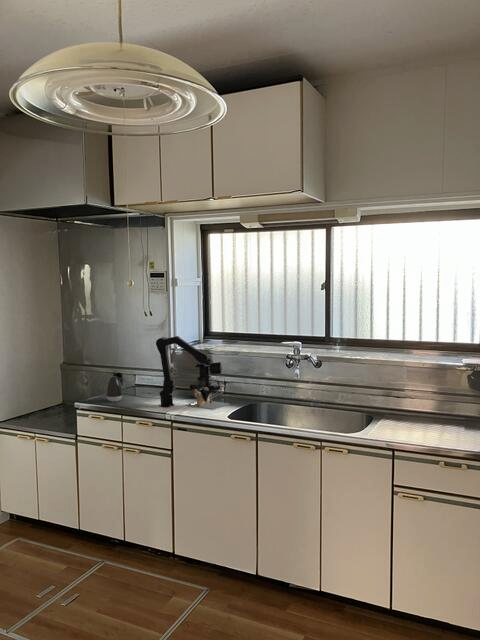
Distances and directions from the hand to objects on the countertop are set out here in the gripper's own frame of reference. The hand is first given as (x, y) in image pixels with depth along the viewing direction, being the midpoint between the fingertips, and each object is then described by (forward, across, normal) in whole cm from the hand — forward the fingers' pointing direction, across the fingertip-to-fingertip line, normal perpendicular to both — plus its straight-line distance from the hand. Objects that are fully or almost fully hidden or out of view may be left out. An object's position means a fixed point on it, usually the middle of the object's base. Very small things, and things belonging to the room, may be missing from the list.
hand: (205, 401), depth 316 cm
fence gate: (+2, -3, +1) cm, 3 cm away
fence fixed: (+2, -8, +7) cm, 11 cm away
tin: (+2, -20, +18) cm, 27 cm away
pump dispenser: (0, -55, -21) cm, 59 cm away
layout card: (+3, -2, +4) cm, 5 cm away
